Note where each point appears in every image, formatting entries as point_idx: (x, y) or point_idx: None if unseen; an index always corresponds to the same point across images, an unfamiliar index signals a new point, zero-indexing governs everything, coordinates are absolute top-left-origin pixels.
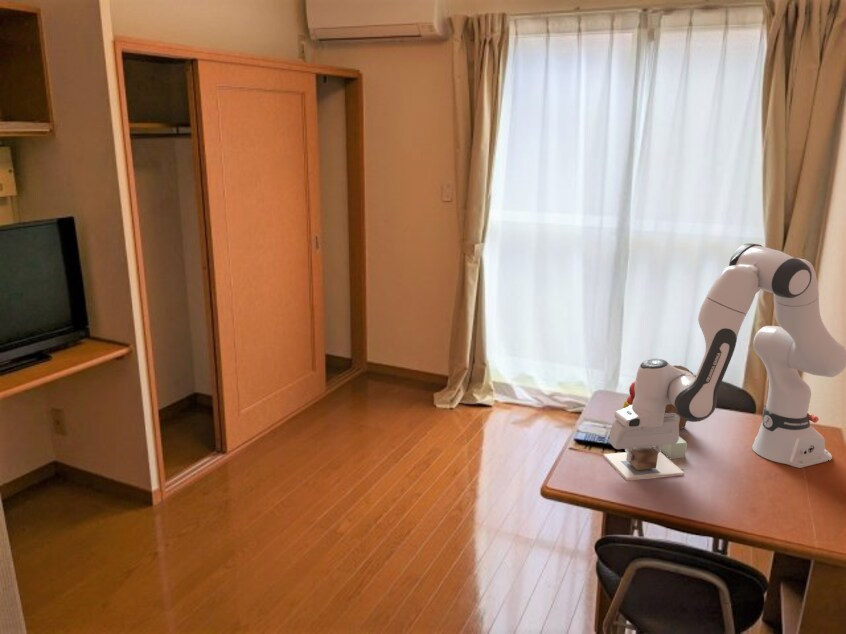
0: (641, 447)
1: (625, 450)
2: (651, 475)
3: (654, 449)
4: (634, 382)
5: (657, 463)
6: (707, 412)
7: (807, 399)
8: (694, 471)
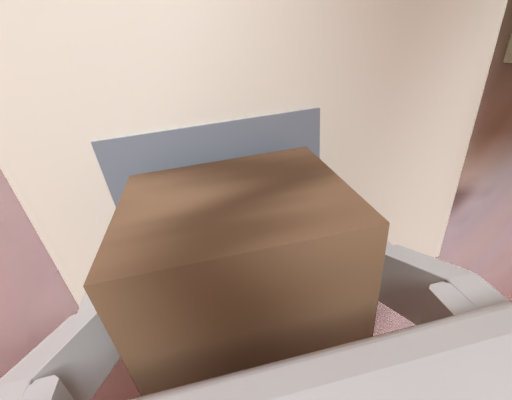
0: (249, 336)
1: (35, 355)
2: None
3: None
4: None
5: (367, 169)
6: None
7: None
8: (501, 212)
